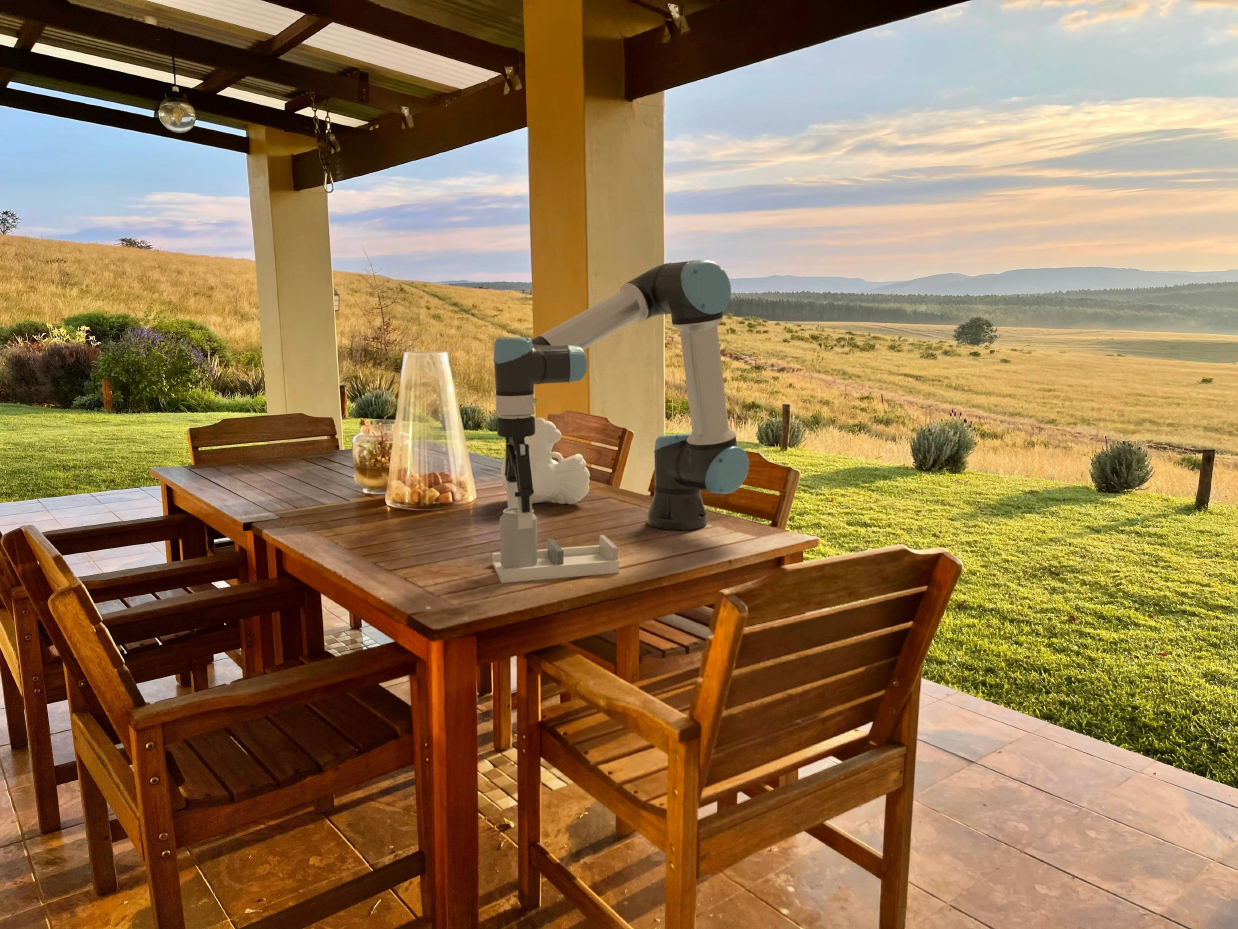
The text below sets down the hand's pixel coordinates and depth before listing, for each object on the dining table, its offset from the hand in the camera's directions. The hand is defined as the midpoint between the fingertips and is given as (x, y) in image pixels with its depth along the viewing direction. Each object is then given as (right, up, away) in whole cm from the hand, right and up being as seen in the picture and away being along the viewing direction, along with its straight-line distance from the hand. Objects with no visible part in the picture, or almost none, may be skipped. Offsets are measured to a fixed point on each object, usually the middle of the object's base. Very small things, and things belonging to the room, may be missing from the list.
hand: (519, 520), depth 165 cm
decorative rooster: (-1, 0, +65) cm, 65 cm away
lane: (+7, -10, +4) cm, 13 cm away
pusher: (+7, -9, +3) cm, 12 cm away
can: (0, -10, +1) cm, 10 cm away
